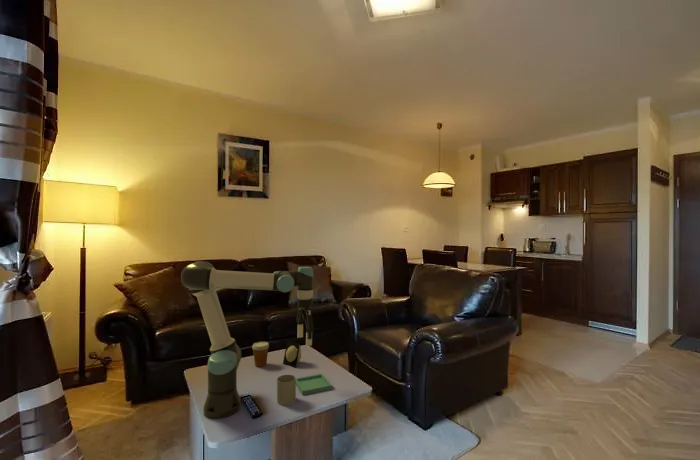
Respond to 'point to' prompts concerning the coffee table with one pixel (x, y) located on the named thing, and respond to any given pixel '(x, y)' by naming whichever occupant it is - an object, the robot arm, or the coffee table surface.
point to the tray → (313, 384)
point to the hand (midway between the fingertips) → (304, 341)
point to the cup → (286, 389)
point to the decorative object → (292, 354)
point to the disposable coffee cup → (260, 353)
